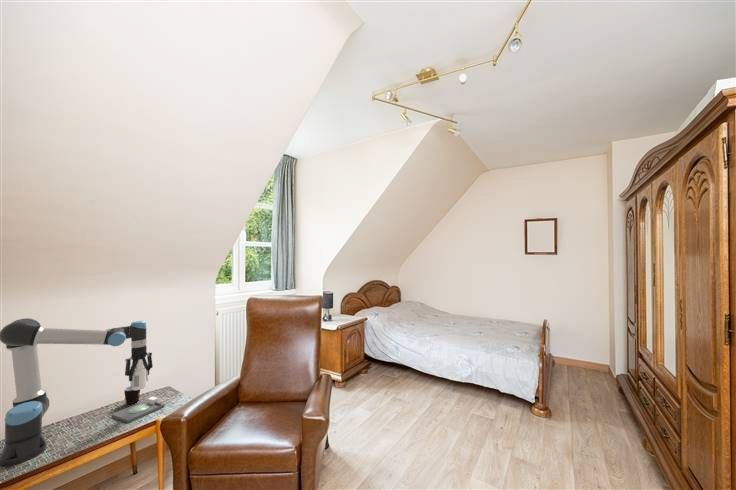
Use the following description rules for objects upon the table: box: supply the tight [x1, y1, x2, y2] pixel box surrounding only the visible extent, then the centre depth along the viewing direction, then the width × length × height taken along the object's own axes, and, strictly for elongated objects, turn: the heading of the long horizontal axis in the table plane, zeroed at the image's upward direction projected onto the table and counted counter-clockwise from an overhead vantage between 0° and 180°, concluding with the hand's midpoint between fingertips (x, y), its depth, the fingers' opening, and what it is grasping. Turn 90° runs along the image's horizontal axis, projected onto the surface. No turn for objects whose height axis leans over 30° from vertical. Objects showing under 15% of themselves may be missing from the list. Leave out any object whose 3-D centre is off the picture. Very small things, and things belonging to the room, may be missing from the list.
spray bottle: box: [132, 359, 147, 391], centre depth 182 cm, size 7×7×18 cm
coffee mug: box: [123, 385, 141, 406], centre depth 193 cm, size 12×9×10 cm
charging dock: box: [110, 396, 165, 424], centre depth 181 cm, size 20×18×4 cm
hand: (139, 383), depth 181 cm, fingers closed on spray bottle, 7 cm apart
